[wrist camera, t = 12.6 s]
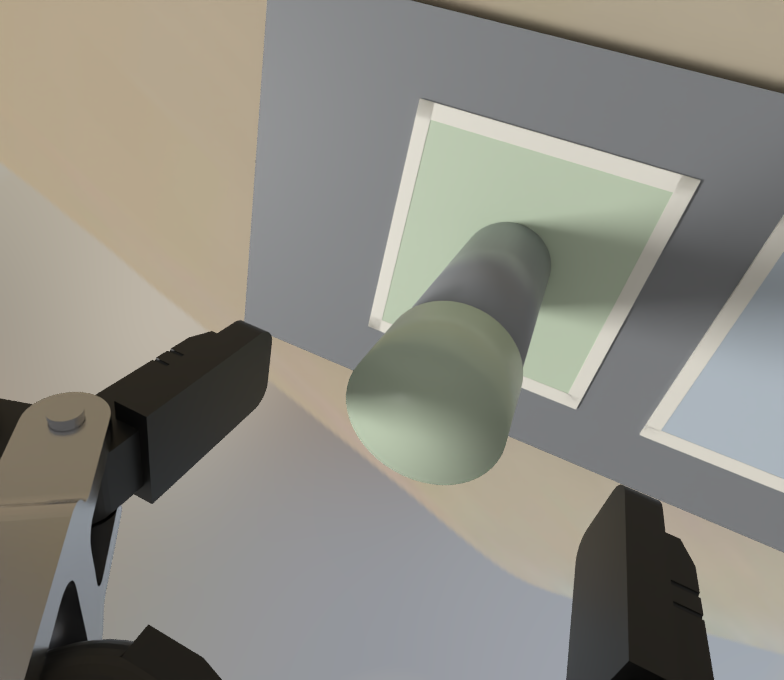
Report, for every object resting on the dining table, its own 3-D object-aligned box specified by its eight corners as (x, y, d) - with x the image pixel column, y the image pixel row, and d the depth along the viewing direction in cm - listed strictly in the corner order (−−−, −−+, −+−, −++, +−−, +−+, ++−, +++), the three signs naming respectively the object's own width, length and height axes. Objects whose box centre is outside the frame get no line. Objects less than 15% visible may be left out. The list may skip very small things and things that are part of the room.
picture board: (1666, 316, 12) (1897, 369, 10) (1052, 649, 20) (1105, 717, 18) (284, -31, 19) (243, -44, 17) (255, 316, 28) (225, 337, 26)
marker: (569, 237, 19) (534, 385, 10) (533, 321, 21) (476, 508, 12) (474, 206, 20) (362, 317, 11) (448, 290, 22) (334, 444, 13)
